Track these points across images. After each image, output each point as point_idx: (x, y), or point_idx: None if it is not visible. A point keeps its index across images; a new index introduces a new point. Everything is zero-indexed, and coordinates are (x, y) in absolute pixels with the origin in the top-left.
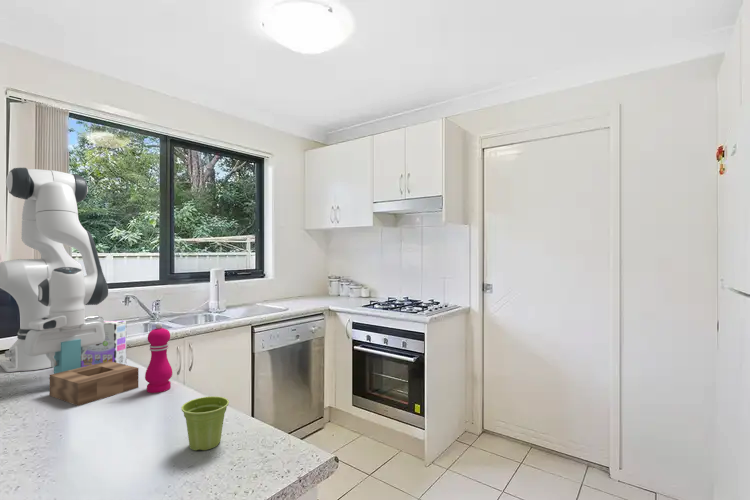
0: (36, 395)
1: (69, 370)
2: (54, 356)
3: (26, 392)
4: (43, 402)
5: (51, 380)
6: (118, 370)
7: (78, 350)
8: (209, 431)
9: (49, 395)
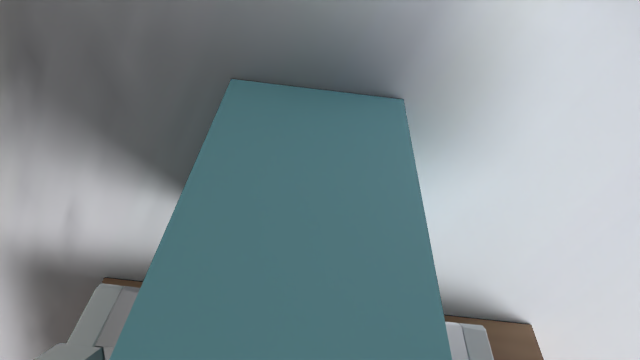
0: (44, 192)
1: None
2: (126, 342)
3: (3, 27)
4: (38, 349)
5: None
6: None
7: None
8: None
9: (104, 278)
